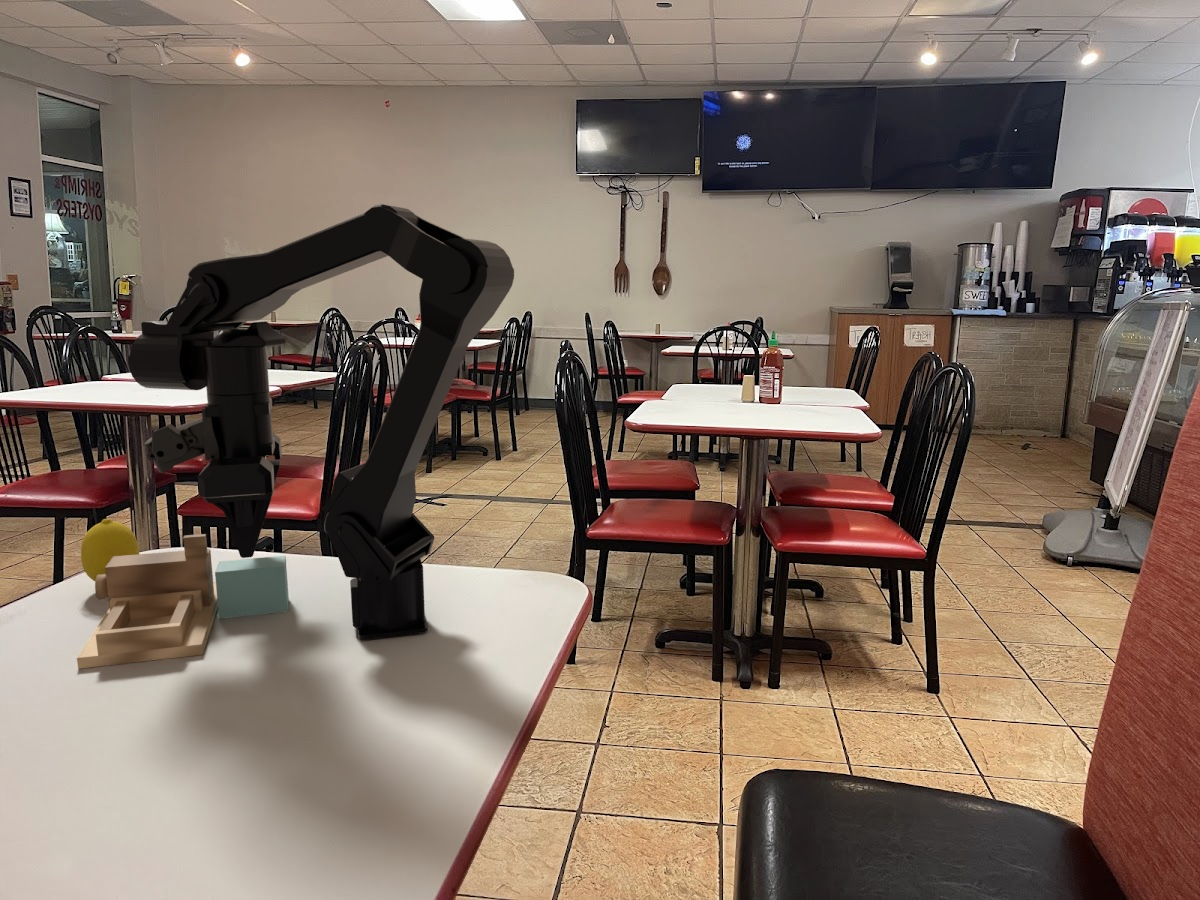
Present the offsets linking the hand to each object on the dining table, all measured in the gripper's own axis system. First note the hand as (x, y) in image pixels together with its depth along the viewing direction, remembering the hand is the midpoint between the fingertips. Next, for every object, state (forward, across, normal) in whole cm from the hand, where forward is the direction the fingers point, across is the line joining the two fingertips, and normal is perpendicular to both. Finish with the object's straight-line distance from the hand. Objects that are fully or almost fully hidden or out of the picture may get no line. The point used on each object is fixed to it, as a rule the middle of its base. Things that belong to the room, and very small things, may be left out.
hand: (250, 543), depth 87 cm
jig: (+7, +2, -9) cm, 11 cm away
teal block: (+7, 0, 0) cm, 7 cm away
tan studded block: (+6, -1, -9) cm, 11 cm away
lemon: (+7, -11, -15) cm, 20 cm away
